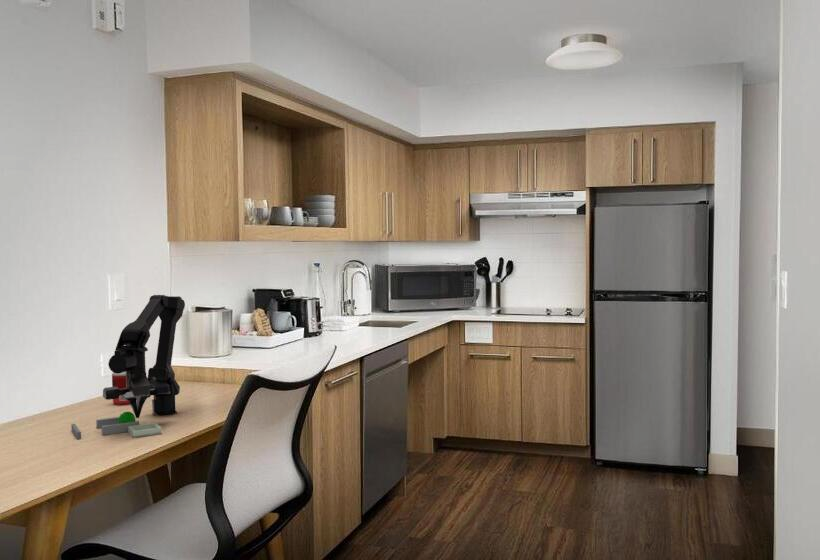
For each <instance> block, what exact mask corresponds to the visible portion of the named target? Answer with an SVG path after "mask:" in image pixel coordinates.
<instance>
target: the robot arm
mask: <svg viewBox="0 0 820 560" xmlns="http://www.w3.org/2000/svg"><path fill="white" fill-rule="evenodd" d="M185 305H186V302H185V300H184V299H183V298H182V297H181V296H177V295H176V296H174V295H173V296H170V295H169V296H168V295H165V294H153V295H151V296H150V297H149V300H148V302H147V304H146V305H145V307H144V308H143V310H142V311H141V313H140V314H139V315H138V316H137V318H136V319H135V320H134V321H132V322H129V323H128V324H127V325H126V326H125V327H124V328H123V329H122V331H121V333H120V335H119V337H118V341H117V343H116V346H115V350H114V354H113V355H112V356H111V357H109V359H108V360H109V361H108V368H109V370H110V371H111V372H112V373H113V372H114V373H117V374H119V373H123V372H126V387H127V388H125V389H119V388H118V387H112V386H110V387H104V388H103V389H102V397H103V398H104V400H107V401H108V400H113V399H118V397H119V396H120V395H123V398H124V399H126V400H128V401H129V403H130V404H129V405H130V407H131V409H132V413H133V414H134V416H135V419H139V418H140V415H141V413H142V409H143V407H144V404H145V403H146V400H147V399H148V398H150V397H151V396H153V399H152V400H151V404H152V405H151V407H152V413H153V414H155V415H156V416H164V415H172V414H177V413H178V411H177V410H176V396H178V395H179V394H180V389H181V387H180V385H179V383H178V382H177V380H176V379H175V374H176V373H175V371H174V368H173V367H172V360H173V352H174V344H175V336H176V329H177V323H178V321H180V319H181V318H182V317H183V313H184V310H185V308H186V307H185ZM158 318H159V320H160V328H159V337H158V343H157V350H156V359H155V364H154V365H153V366H152V367H149V368H148V370H147V371H148V373H147V371H146V352H147V351H149V349H148V347H146V345H147V343H148V341H149V339H150V337H151V333H150V329H151V328H152V326H153V325H154V324H155V322H156V320H157V319H158ZM135 396H137V401H136V397H135Z"/></svg>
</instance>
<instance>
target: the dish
mask: <svg viewBox="0 0 820 560" xmlns="http://www.w3.org/2000/svg"><path fill="white" fill-rule="evenodd" d="M127 433H128V434H129V436H131V437H132V438H133V439H136V438H142V437H150V436H156V435H162V434H163V433H162V427H161V426H160V425H159V424H158V423H157V422H149V423H139V425H133V426H128V432H127Z"/></svg>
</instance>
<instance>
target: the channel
mask: <svg viewBox="0 0 820 560" xmlns="http://www.w3.org/2000/svg"><path fill="white" fill-rule="evenodd" d="M119 417H120V415H119V416H114V417H106V418H97V419H96V420H95V421H96V422H95V423H96V424H95V425H96V429H97V430H98V429H101V435H102V436H108V435H114V434H121V433H128V426H133V425H140V420H136V421H134V422H127V423H119V420H118V419H119ZM70 426H71V432H72V433H73V435H74V436H75V438H76V439H77V440H81V439H82V431H81V430H80V429H79V427H78V426H77V424H76V423H71V424H70Z"/></svg>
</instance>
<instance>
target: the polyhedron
mask: <svg viewBox="0 0 820 560" xmlns="http://www.w3.org/2000/svg"><path fill="white" fill-rule="evenodd" d="M119 416H120V417H119ZM119 416H118V417H119V419H118V420H119V423H127V422H134V421H137V420H136V417H135V414H134V412H131V411H124V412H123V413H121V414H120V415H119Z"/></svg>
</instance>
